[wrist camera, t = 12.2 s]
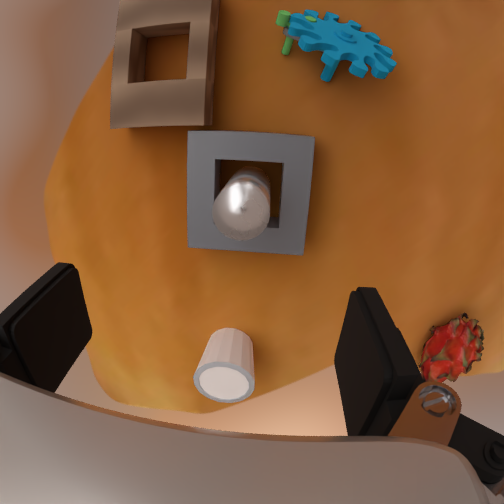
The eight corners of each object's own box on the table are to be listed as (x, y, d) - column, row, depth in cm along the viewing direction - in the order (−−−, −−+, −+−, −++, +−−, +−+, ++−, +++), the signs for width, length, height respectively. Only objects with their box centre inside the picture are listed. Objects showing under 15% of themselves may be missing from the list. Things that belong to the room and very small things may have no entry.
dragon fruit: (465, 293, 36) (416, 350, 42) (447, 302, 31) (389, 366, 37) (502, 335, 31) (447, 389, 37) (491, 353, 26) (425, 412, 32)
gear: (403, 43, 23) (393, 84, 19) (379, 82, 28) (360, 132, 24) (301, -7, 23) (258, 19, 19) (287, 36, 28) (245, 74, 24)
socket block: (196, 130, 29) (187, 130, 26) (310, 135, 29) (315, 137, 25) (195, 234, 33) (187, 247, 30) (300, 242, 33) (303, 255, 30)
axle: (230, 165, 30) (212, 183, 21) (271, 167, 30) (271, 186, 21) (229, 204, 32) (211, 238, 23) (269, 206, 32) (267, 242, 23)
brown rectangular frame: (136, 6, 24) (121, -5, 20) (220, -3, 23) (213, -18, 20) (127, 127, 29) (110, 128, 25) (212, 125, 29) (203, 125, 25)
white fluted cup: (268, 352, 39) (266, 392, 33) (224, 371, 41) (217, 409, 34) (237, 315, 37) (231, 353, 31) (193, 336, 39) (180, 374, 32)
